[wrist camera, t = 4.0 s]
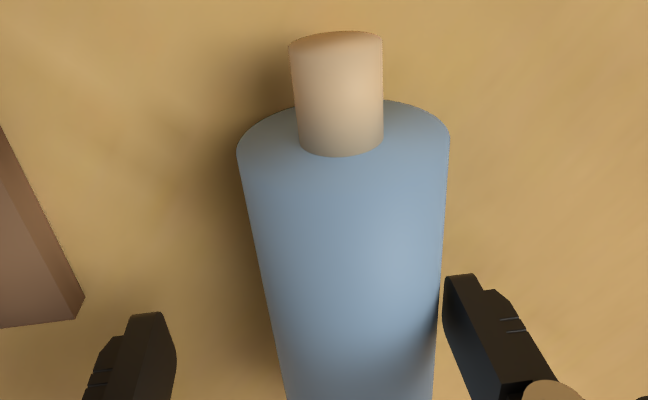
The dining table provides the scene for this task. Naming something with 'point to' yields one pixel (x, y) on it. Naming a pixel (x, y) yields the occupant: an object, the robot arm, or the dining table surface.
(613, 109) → the dining table surface
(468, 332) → the robot arm
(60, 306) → the roll holder
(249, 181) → the towel roll
